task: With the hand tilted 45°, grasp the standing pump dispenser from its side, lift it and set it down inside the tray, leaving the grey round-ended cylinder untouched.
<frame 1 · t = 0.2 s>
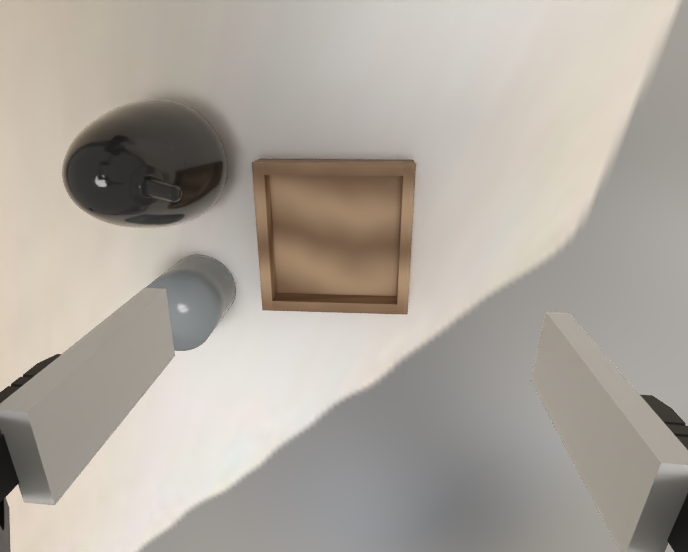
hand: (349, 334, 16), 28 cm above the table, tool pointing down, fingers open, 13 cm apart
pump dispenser: (187, 158, 42), on the table
tray: (336, 233, 43), on the table
grey round-ended cylinder: (202, 286, 46), on the table
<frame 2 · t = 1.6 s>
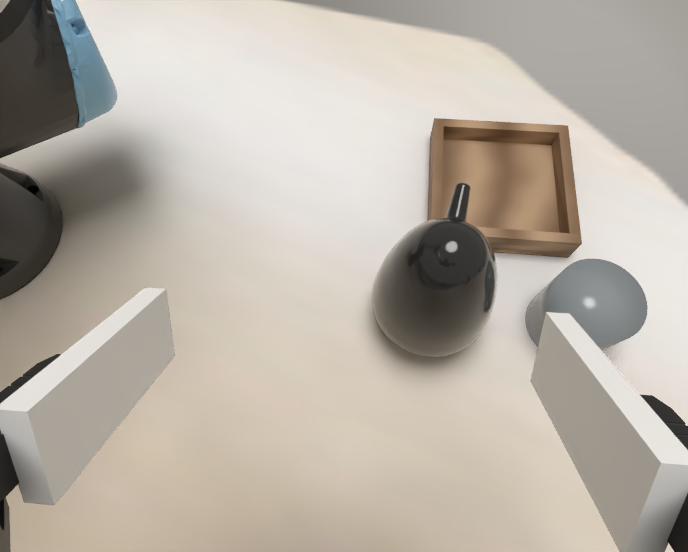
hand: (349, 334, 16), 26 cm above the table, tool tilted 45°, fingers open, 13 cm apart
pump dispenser: (424, 312, 43), on the table
tray: (494, 193, 47), on the table
grey round-ended cylinder: (563, 323, 42), on the table
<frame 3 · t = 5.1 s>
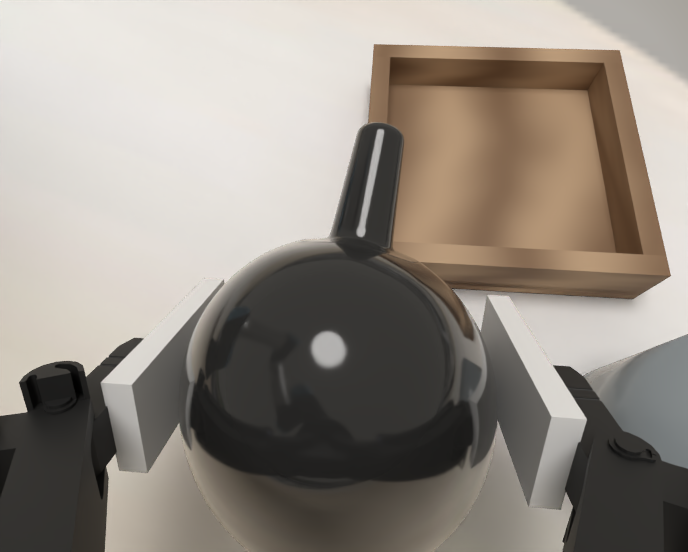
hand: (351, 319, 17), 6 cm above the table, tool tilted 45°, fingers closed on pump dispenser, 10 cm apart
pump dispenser: (348, 421, 21), on the table, touching gripper
tray: (486, 178, 26), on the table
grey round-ended cylinder: (636, 443, 20), on the table
when the fingers open (8 cm above the table, at t = 10.0 s): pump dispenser drops 1 cm, resting on tray.
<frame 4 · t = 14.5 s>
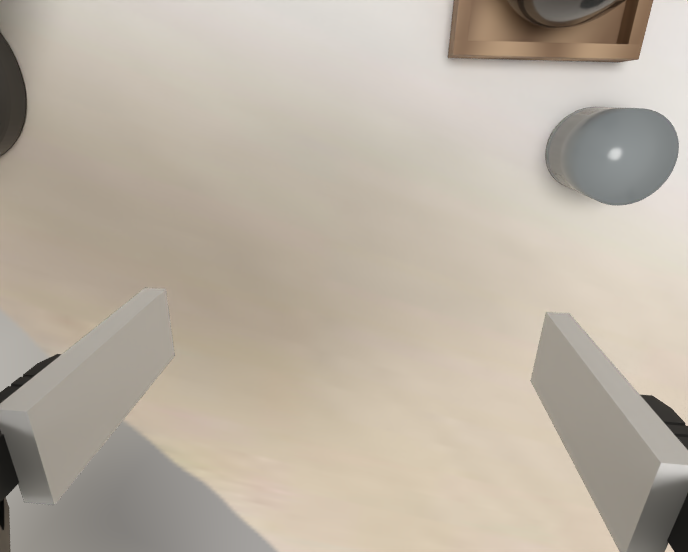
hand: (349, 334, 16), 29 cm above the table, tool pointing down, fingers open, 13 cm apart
grey round-ended cylinder: (586, 149, 39), on the table
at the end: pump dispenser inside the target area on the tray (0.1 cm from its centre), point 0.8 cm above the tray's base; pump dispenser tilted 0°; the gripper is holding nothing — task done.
